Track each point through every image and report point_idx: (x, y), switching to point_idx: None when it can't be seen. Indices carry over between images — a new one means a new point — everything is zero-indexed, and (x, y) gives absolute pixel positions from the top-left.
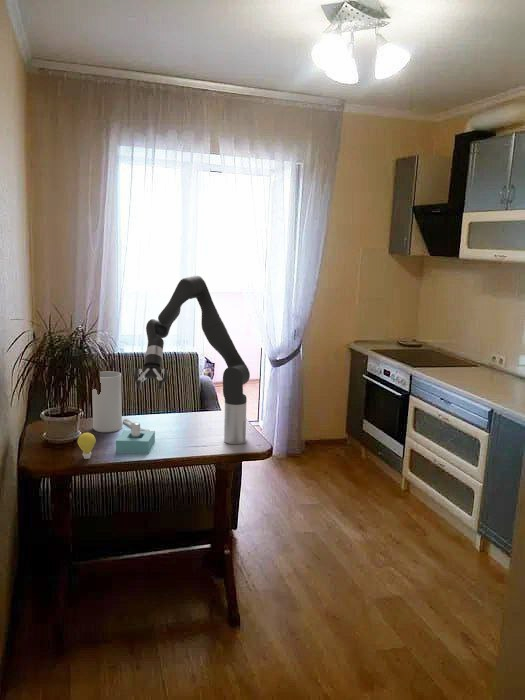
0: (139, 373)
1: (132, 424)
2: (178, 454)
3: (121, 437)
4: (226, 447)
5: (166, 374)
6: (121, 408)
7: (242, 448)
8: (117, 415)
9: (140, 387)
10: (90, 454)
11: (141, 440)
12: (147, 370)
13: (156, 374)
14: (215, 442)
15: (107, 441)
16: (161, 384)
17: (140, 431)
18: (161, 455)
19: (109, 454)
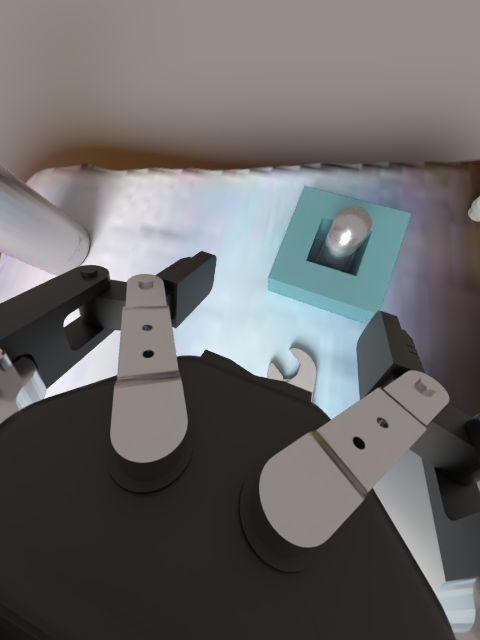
0: (460, 580)
1: (366, 217)
2: (226, 189)
3: (390, 237)
4: (102, 210)
5: (31, 293)
6: (406, 519)
7: (71, 196)
8: (414, 467)
9: (366, 341)
10: (476, 199)
11: (325, 198)
12: (316, 460)
13: (166, 324)
14: (112, 250)
15: (418, 339)
16: (173, 268)
17: (318, 284)
18: (268, 191)
19: (410, 225)
